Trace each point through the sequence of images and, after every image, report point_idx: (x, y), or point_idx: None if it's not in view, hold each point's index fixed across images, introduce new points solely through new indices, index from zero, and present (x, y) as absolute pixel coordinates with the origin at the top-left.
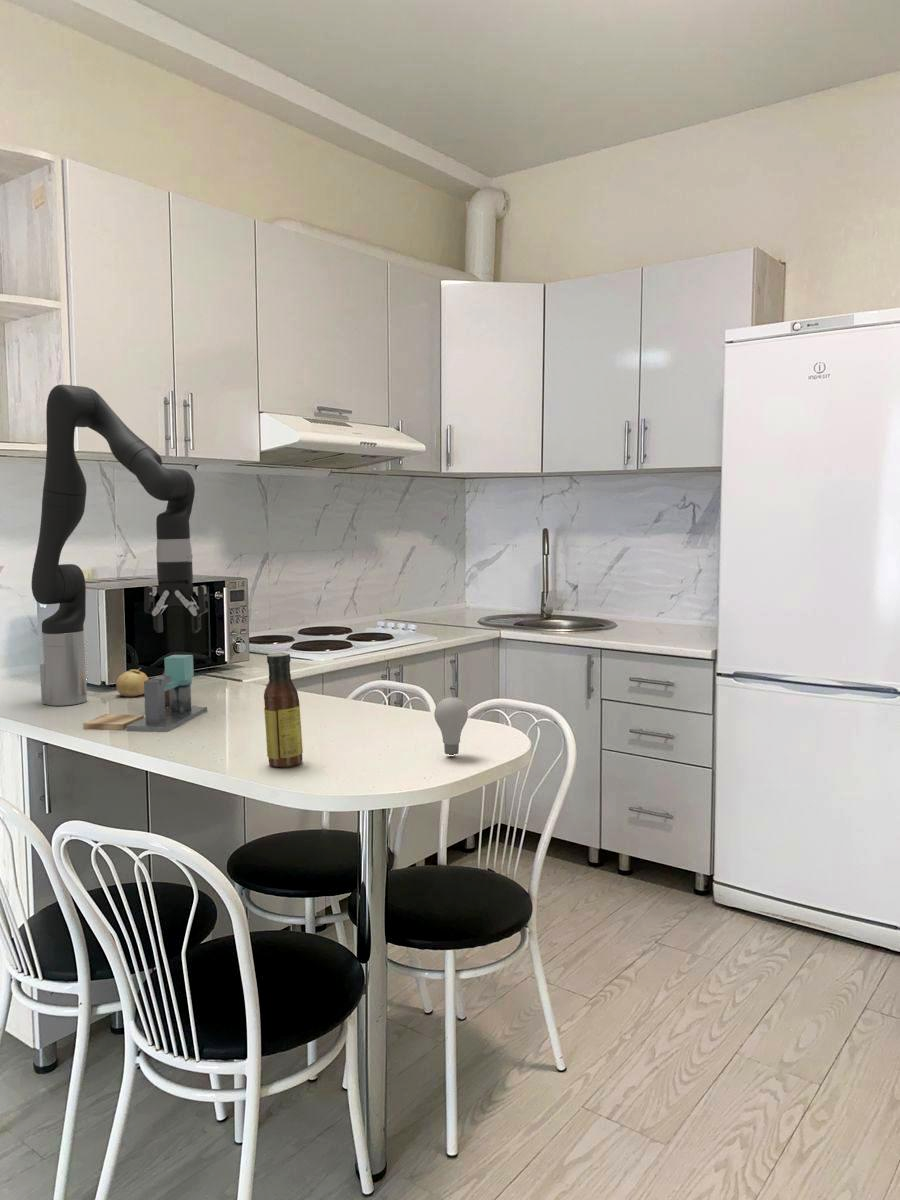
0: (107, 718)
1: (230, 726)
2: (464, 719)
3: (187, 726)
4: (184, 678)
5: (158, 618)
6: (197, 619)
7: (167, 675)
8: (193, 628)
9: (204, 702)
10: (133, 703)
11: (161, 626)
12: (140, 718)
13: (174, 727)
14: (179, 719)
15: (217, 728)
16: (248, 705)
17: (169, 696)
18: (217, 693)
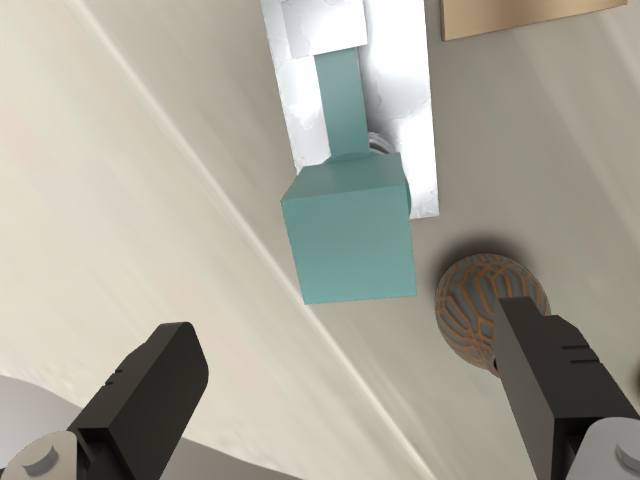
0: None
1: (105, 52)
2: None
3: (232, 4)
4: (303, 168)
5: (543, 403)
6: (85, 414)
7: (388, 160)
8: (157, 339)
9: (393, 326)
10: (631, 277)
11: (509, 376)
12: (442, 8)
13: None
14: (274, 26)
15: (121, 11)
16: (246, 314)
17: (468, 262)
18: (422, 425)
